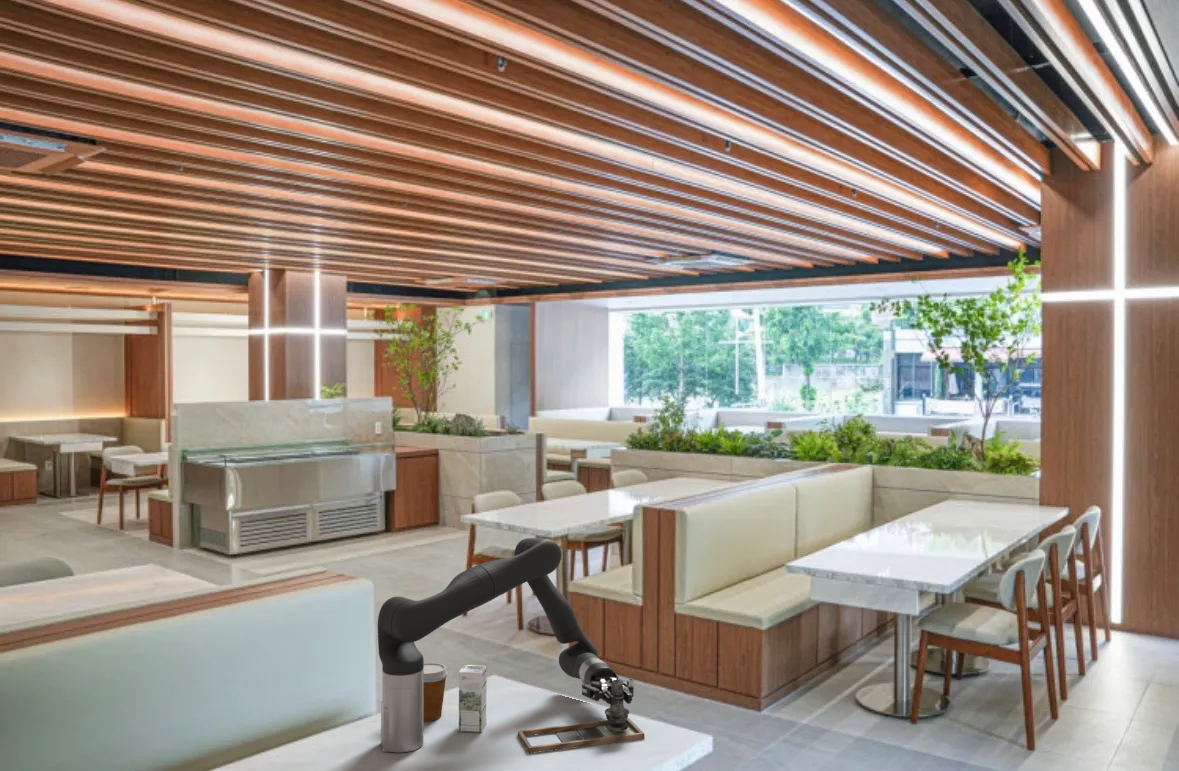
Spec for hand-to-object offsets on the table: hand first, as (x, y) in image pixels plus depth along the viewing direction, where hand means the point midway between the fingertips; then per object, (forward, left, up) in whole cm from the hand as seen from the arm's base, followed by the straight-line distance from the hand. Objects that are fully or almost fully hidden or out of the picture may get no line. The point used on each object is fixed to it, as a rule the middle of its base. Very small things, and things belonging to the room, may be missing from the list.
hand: (621, 700), depth 208 cm
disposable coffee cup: (-41, +27, -9) cm, 50 cm away
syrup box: (-32, +16, -9) cm, 37 cm away
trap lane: (-9, +3, -9) cm, 13 cm away
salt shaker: (0, +3, -7) cm, 8 cm away
